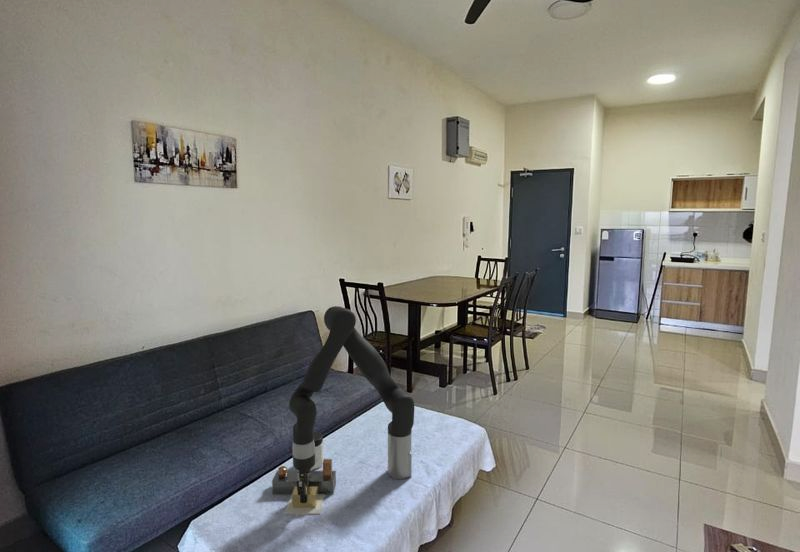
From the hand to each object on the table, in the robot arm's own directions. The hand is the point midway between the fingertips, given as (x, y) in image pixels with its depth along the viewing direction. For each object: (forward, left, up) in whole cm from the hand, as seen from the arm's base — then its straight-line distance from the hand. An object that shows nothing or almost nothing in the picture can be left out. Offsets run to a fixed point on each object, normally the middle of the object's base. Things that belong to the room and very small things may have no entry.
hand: (305, 497), depth 154 cm
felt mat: (0, 0, -3) cm, 3 cm away
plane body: (+2, -9, -3) cm, 10 cm away
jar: (+2, -25, -3) cm, 25 cm away
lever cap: (0, 0, -2) cm, 2 cm away
